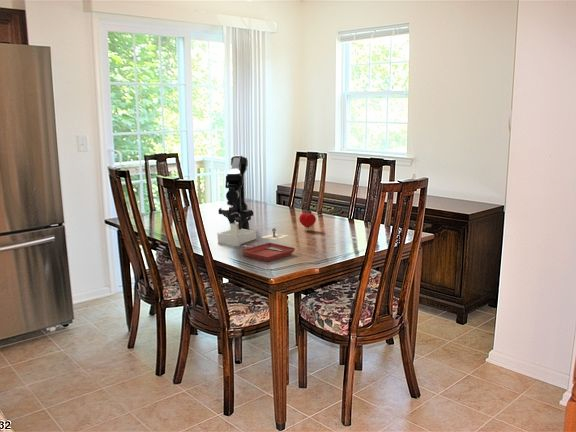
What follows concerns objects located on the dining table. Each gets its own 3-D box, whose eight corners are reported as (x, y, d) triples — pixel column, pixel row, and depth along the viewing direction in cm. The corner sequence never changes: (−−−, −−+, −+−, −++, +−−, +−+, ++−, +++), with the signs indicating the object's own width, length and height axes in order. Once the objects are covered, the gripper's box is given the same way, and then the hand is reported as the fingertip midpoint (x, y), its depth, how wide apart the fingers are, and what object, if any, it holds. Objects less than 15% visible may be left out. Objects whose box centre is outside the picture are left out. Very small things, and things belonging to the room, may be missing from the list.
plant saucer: (240, 256, 258) (240, 249, 257) (269, 248, 270) (269, 241, 269) (267, 264, 245) (267, 256, 244) (296, 255, 257) (296, 248, 257)
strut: (231, 241, 282) (230, 223, 281) (236, 239, 286) (235, 222, 284) (237, 242, 280) (236, 224, 278) (242, 240, 283) (241, 222, 281)
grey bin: (217, 242, 282) (217, 233, 281) (236, 237, 292) (235, 227, 291) (238, 246, 274) (237, 236, 273) (256, 240, 284) (255, 230, 283)
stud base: (260, 239, 287) (260, 229, 286) (272, 235, 294) (272, 225, 293) (276, 241, 281) (275, 231, 280) (287, 237, 289) (287, 227, 288)
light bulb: (318, 231, 300) (318, 212, 298) (312, 234, 294) (312, 215, 292) (303, 229, 304) (302, 211, 302) (296, 232, 299) (296, 214, 296)
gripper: (209, 199, 278) (211, 230, 281) (238, 202, 267) (239, 234, 270) (225, 195, 286) (226, 225, 290) (253, 198, 275) (254, 229, 279)
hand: (236, 228), depth 282 cm, fingers open, 5 cm apart
